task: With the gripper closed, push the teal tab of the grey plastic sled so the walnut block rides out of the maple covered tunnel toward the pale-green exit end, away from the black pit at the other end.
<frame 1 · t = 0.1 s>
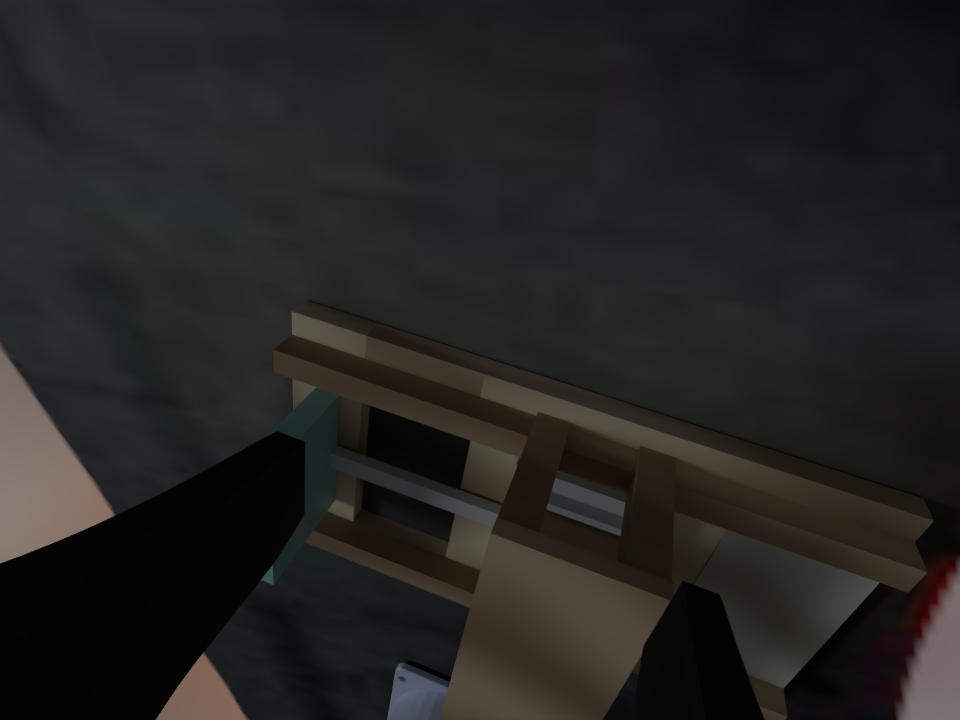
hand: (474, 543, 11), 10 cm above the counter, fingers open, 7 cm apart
walnut block: (563, 547, 22), point 2 cm above the counter, touching sled
tunnel board: (547, 506, 23), on the counter
sled: (446, 542, 21), point 3 cm above the counter, slide at 0.0 cm, touching walnut block
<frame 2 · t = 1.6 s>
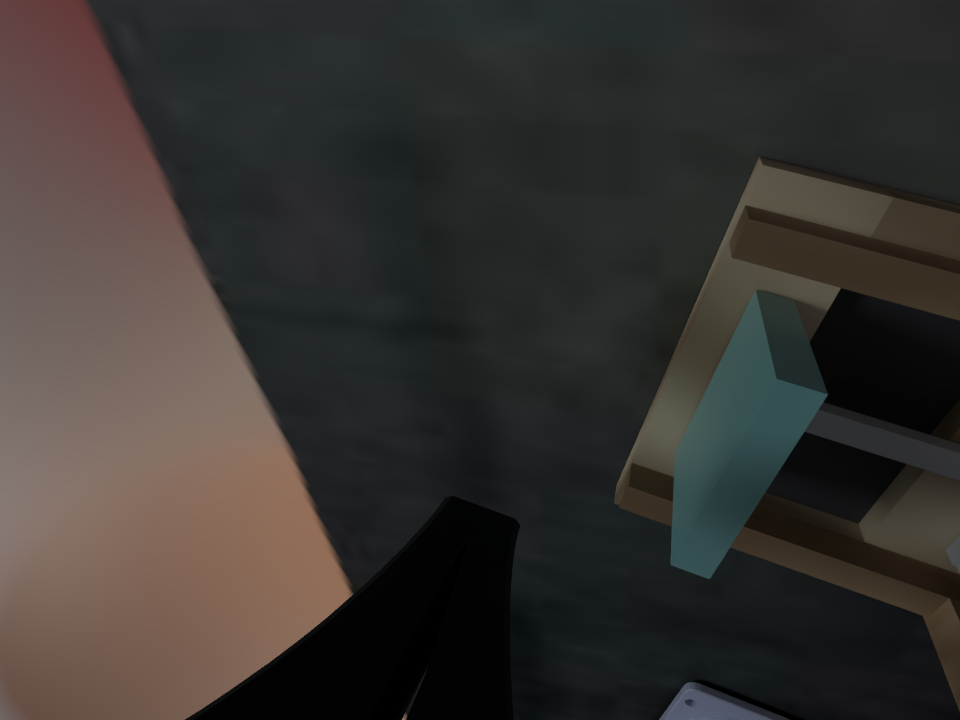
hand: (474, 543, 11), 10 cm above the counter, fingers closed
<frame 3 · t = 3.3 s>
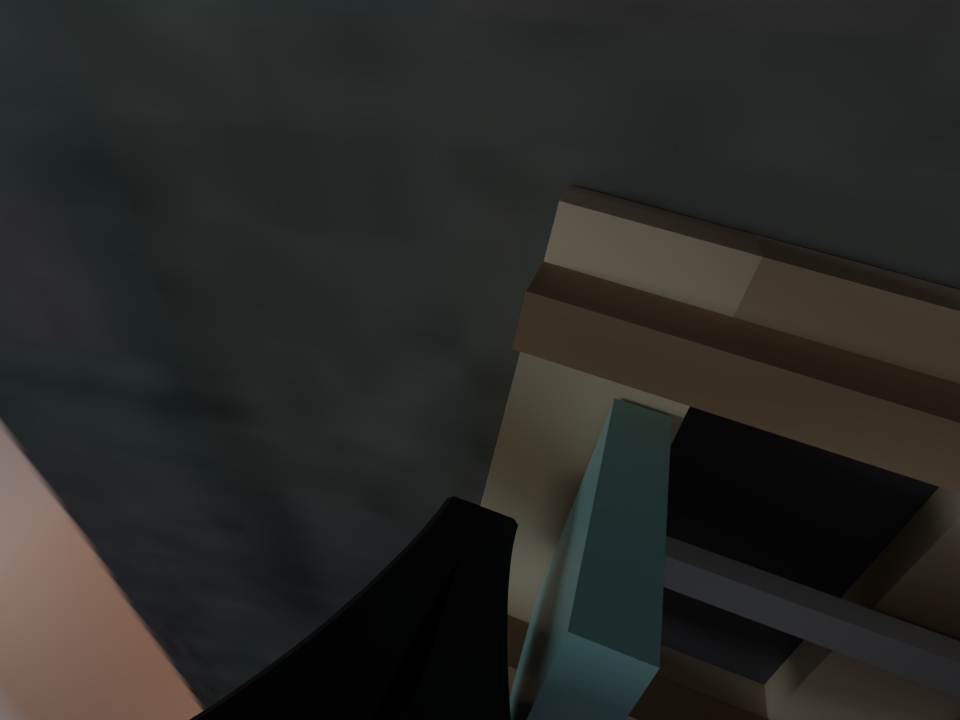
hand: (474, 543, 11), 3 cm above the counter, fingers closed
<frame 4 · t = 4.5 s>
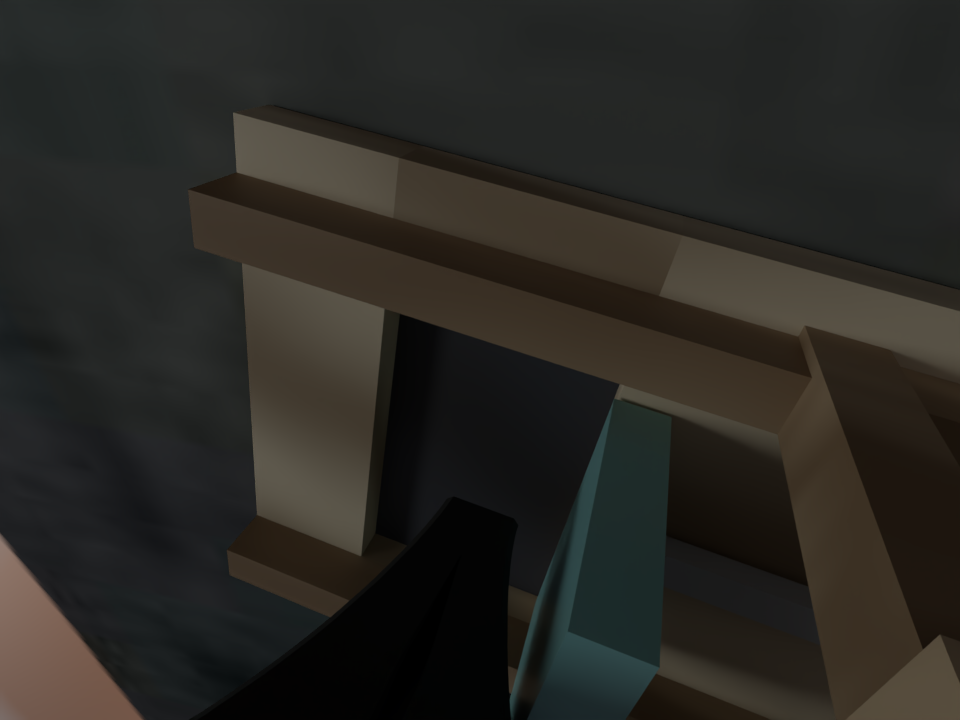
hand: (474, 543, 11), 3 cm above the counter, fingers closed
tunnel board: (745, 537, 12), on the counter
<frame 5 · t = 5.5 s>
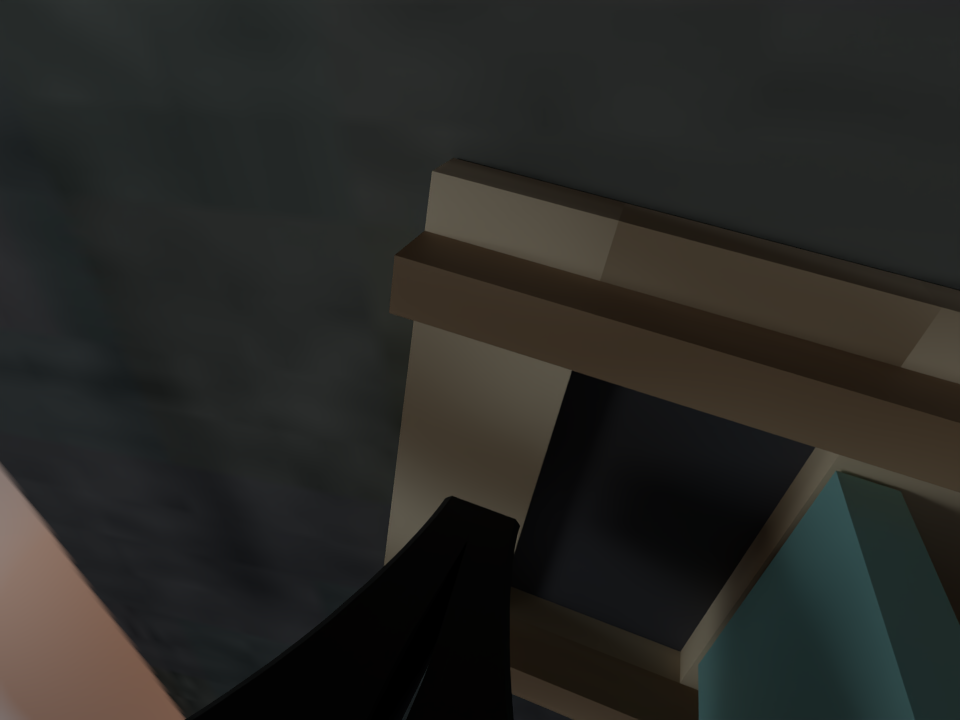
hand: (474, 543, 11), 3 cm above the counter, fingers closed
tunnel board: (929, 601, 11), on the counter
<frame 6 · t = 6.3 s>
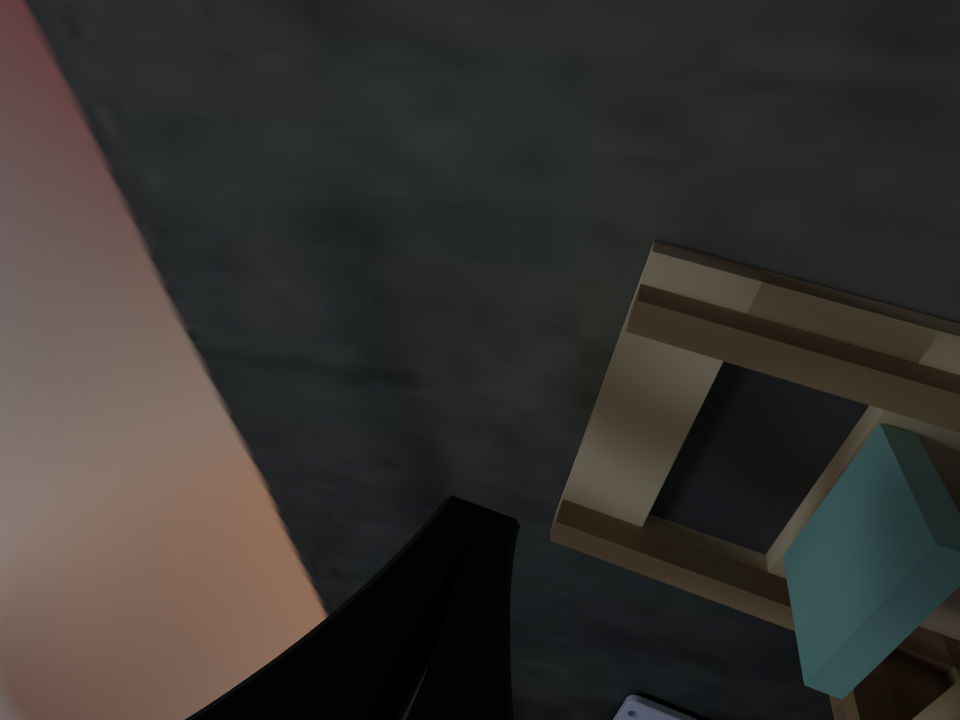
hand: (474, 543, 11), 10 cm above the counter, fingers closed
tunnel board: (932, 509, 18), on the counter
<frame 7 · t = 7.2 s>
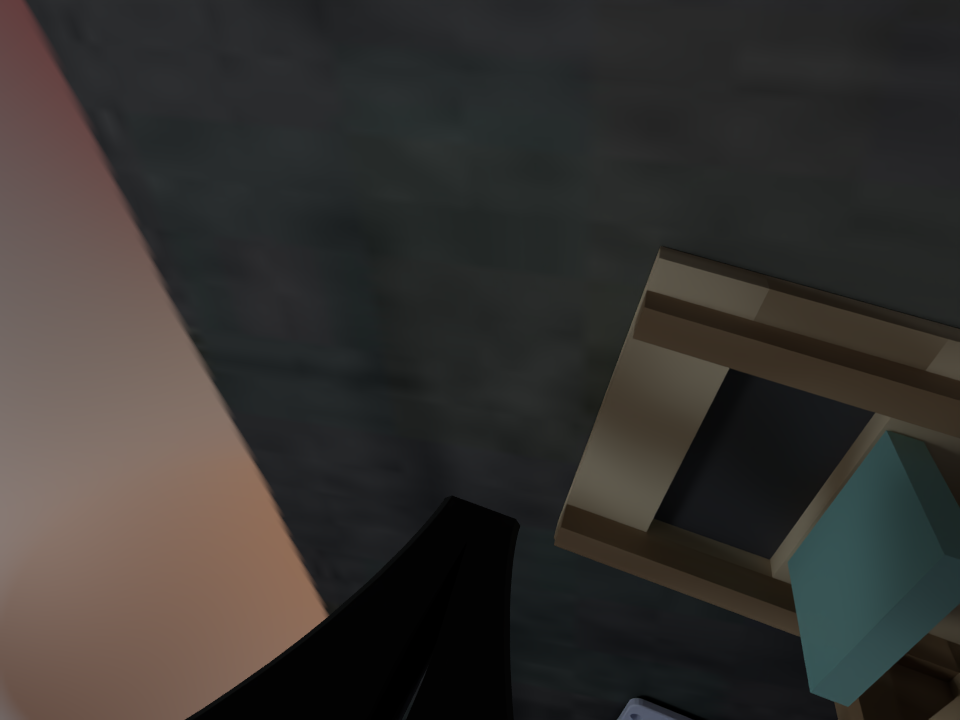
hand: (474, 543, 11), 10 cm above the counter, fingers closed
tunnel board: (938, 515, 18), on the counter
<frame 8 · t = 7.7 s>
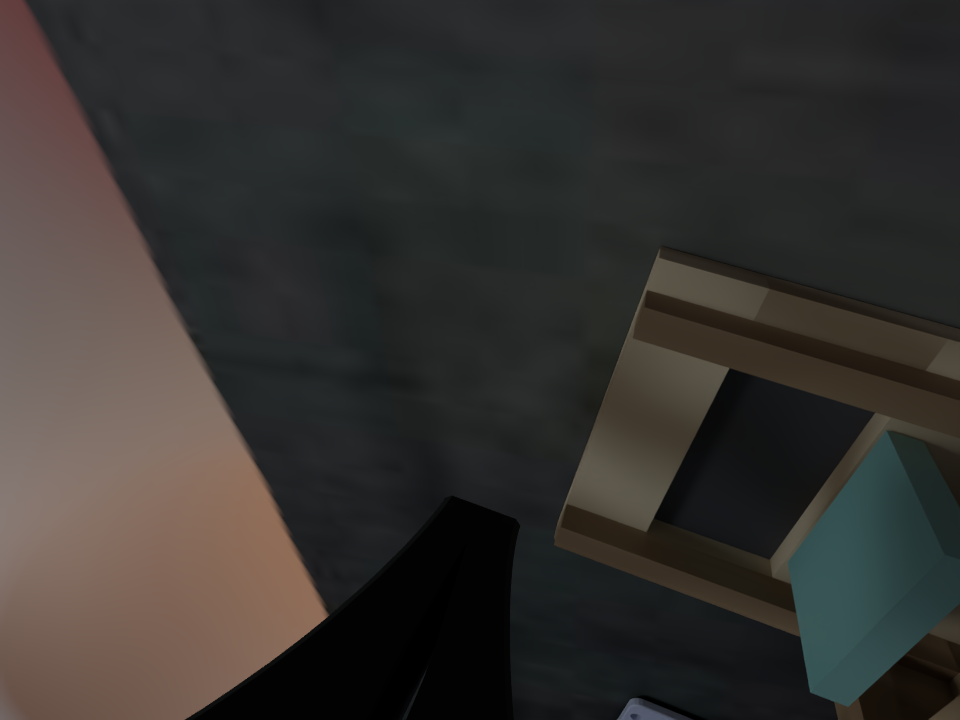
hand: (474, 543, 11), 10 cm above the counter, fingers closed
tunnel board: (938, 515, 18), on the counter
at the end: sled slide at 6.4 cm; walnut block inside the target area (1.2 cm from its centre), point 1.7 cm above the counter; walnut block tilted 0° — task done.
